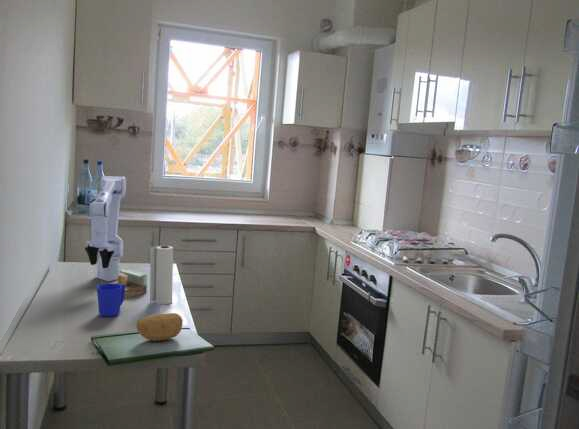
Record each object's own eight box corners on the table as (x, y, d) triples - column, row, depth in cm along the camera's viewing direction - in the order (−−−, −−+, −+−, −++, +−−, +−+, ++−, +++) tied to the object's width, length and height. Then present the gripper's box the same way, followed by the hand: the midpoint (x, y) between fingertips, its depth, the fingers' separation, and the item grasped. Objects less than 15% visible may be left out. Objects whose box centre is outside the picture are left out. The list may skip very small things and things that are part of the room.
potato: (134, 336, 170) (134, 311, 168) (179, 332, 175) (179, 308, 174) (137, 348, 161) (138, 322, 160) (185, 343, 166) (185, 318, 165)
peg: (115, 293, 213) (115, 275, 212) (123, 291, 216) (123, 274, 215) (121, 294, 211) (121, 277, 210) (129, 293, 214) (129, 275, 213)
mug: (133, 309, 195) (133, 282, 193) (111, 319, 183) (111, 291, 182) (113, 306, 197) (114, 279, 196) (91, 316, 186) (91, 287, 185)
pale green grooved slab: (119, 288, 220) (119, 270, 219) (127, 286, 223) (127, 268, 222) (138, 294, 213) (138, 275, 212) (146, 292, 216) (146, 274, 215)
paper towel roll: (175, 301, 206) (176, 246, 203) (165, 305, 201) (166, 249, 198) (160, 298, 209) (160, 244, 206) (149, 302, 204) (150, 246, 200)
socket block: (101, 292, 213) (101, 285, 213) (127, 286, 223) (127, 279, 222) (121, 298, 206) (121, 291, 206) (146, 292, 216) (146, 285, 216)
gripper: (79, 230, 213) (79, 264, 215) (101, 236, 205) (102, 271, 207) (94, 228, 219) (95, 261, 221) (117, 233, 211) (117, 268, 213)
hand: (99, 266), depth 214 cm, fingers open, 7 cm apart
